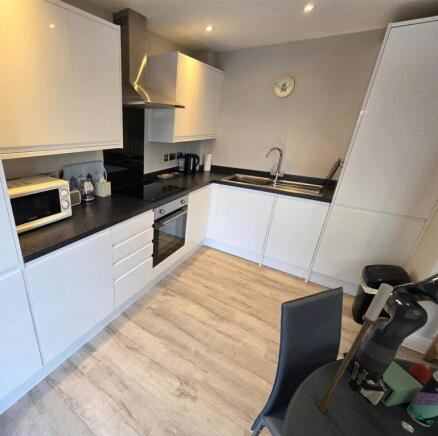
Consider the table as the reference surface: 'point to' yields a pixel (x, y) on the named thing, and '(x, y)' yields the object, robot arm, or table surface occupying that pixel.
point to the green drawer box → (400, 385)
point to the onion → (421, 373)
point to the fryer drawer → (376, 393)
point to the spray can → (425, 403)
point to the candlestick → (345, 363)
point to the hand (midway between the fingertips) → (353, 388)
